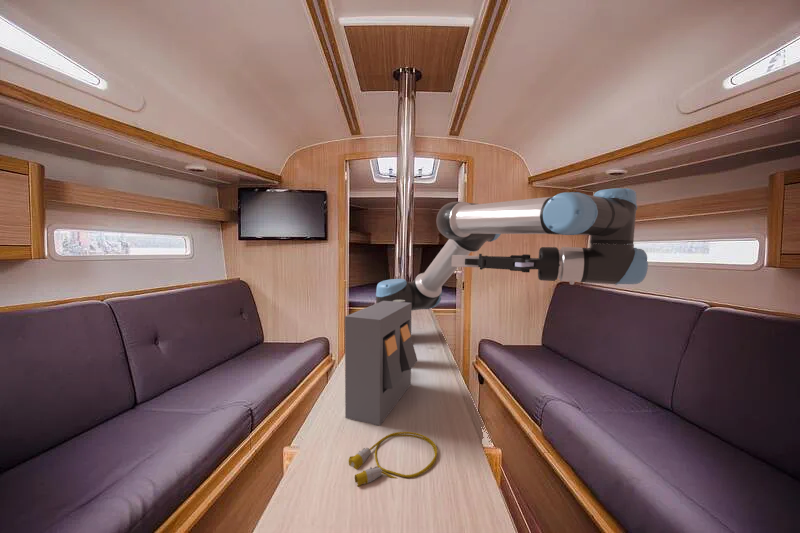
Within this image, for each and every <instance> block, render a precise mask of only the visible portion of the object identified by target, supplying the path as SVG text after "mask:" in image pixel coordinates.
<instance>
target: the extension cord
mask: <svg viewBox="0 0 800 533" xmlns="http://www.w3.org/2000/svg"><path fill="white" fill-rule="evenodd" d="M397 436H398V437H411V438H416V439H420V440H424V441H425V442H427V443H428V444H429V445H430V446H431V447H432V449H433V452H434V456H433V459H432V460H431V461H430V462H429V464H428V465H426V467H424V468H422V469H421V470H420V471H418V472H415V473H412V474H405V473H404V474H403V473H399V472H396V471H393V470H389V469H387V468H384V467H383V466H381V465H380V463H379V460H378V448H379V446H380V445H381V443H382V442H383V441H384V440H386V439H389V438H391V437H397ZM374 448H375V451H374V460H375V463H376V464H375V465H376V466H374V467H372V466H370V467H369V468H368V469H364V470H362V471H361V472H359V473H356V474H355V475H354V481H355V483H357V485H356V486H357V487H361V486H362V485H364V484H366V485H367V484H369V483H372V482H373V481H374V480H376V479H378V478H379V477H381V476H382V475H385V476H387V477H388V478H391V479H398V477H402V478H409V479H410V478H417V477H419V476H421V475H422V474H424V473H426V472H427V471H428V470H430V469H431V468H433V466H434V465H435V464H436V460H437V456H438V447H437V445H436V443H435V442H434V440H432V439H431V438H430V437H428V436H425V435H424V434H421V433H417V432H413V431H397V432H393V433H390V434H387V435H386V436H384V437H382V438H381V439H379V440H378V441H377V442H376V443H375V444H374V445H372V446H371V447H370V448H369V447H364V448H362V450H359V451H358V452H357V453H356V454H355V455H352V456H351V455H350V456H349V458H348V464H349V466H350V467H352V468H353V469H355V470H358V469H359V468H360V467H361V466H362V465H363V464H364V463H365V462H366V460H367V459H368V458H369V456H370V455H371V453H372V450H373V449H374ZM394 475H395V476H394ZM396 476H398V477H396Z"/></svg>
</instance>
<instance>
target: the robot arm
mask: <svg viewBox="0 0 800 533" xmlns="http://www.w3.org/2000/svg"><path fill="white" fill-rule="evenodd" d="M637 210H638V204H637V192H636V190H634V189H632V188H628V187H627V188H625V187H624V188H623V187H621V188H620V187H616V188H615V187H614V188H606V189H600V190H598V191H596V192H595V193H594V194H593V195H591V194H586V193H581V192H578V191H576V192H575V191H571V192H567V191H565V192H560V193H557V194H556V195H554V196H547V197H536V198H527V199H526V198H525V199H517V200H506V201H505V200H504V201H497V202H489V203H486V202H485V203H473V202H467V201H451V202H448V203H446V204H444V205H443V206H441V208H440V209H439V211H438V212H437V215H436V227H437V230H438V231H439V233H440V234H441V235H442V236H444V237H445V238H446V239H447V241H446V243H445V244H444V246H443V247H442V248H440V251H439V252H438V253H437V255H436V256H435V258H433V260H432V262H430V264H429V266H428V267H427V268H426V270H425V271H424V272H422V273H419V274H418V275H417V276H416V277H415V278H414V280H412V281H407V280H406V279H404V278H395V279H394V278H389V279H386V280H385V279H384V280H382V281H380V282H378V283H377V285H376V292H375V297H376V298H375V300H376V301H375V304H377V303H379V302H381V301H393V300H405V301H406V302H408V303H412V311H418V310H429V309H433V308H435V307H438V305H439V304H440V303H441V301H442V296H443V290H442V288H443V285H444V284H445V283H446V282H447V281H448V280H449V279H450V277H452V275H453V274H454V272H455V271H456V270H457V269H458V268H459V267H460V268H461V267H462V268H479V270H483V269H494V270H495V269H496V270H509V271H512V272H521V273H530V271H531V270H537V278H538V280H539V281H544V282H545V281H547V282H555V281H557V280H559V281H560V282H569V285H571V286H572V285H575V282H578V283H588V284H590V283H591V284H600V285H601V284H602V285H603V284H604V285H616V286H617V285H637V284H641V283H642V282H643V281H644V280H645V278H646V276H647V274H648V269H649V262H648V255H647V254H648V253H647V252H646V251H645V250H644V249H642V248H637V247H635V244H634V242H635V240H634V238H635V227H636V216H637ZM501 235H555V236H556V235H564V236H590V238H589V240H590V241H589V245H590V247H577V246H575V247H574V246H571V247H570V246H562V247H561V248H558V247H555V246H553V247H551V246H542V247H540V248H539V250H538V258H537V257H531V254H526V253H525V254H521V255H517V254H516V255H515V254H512V255H509V256H501V255H500V256H492V255H491V256H489V255H483V253H478V255H470V254H471V253H474V252H475V253H476V252H478V251H479V250H480V249H481V248H482V247H483V246H484V245H485V243H486V242H490V243H491V242H493V241H496V240H498V239H499V237H500V236H501Z"/></svg>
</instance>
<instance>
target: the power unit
mask: <svg viewBox="0 0 800 533" xmlns="http://www.w3.org/2000/svg"><path fill="white" fill-rule="evenodd" d="M412 311H413V310H412V303H408V302H395V301H381V302H379V303H377V304H376V303H373V304H372V305H369V306H367V307H365V308H362V309H359V310H357V311H355V312H353V313H349V314H347V315H345V316H344V342H345V343H344V353H345V354H344V362H345V363H344V365H345V367H344V371H345V372H344V376H345V377H344V378H345V379H344V382H345V383H344V386H345V388H344V389H345V394H344V396H345V397H344V399H345V401H344V402H345V404H344V405H345V406H344V407H345V411H344V412H345V417H344V418H345V419H350V420H354V421H358V422H362V423H366V424H371V425H374V426H381V425H382V423H383V422H384V420H386V418H387V416H389V414H390V413H391V412H392V410H393V409H394V408H395V406H396V405H397V404H398V402H399V401H400V400H401V398H402V397H403V395H405V393H406V391H407V390H408V389H409V388H410V386H411V385H412V381H411V380H412V368H411V369H410V370H406V371H402V367H401V372H402V378H401V379H400V381H399V382H398V383H397V384H396V385H395V386H394V388H393V389H384V387H383V337H384V336H386V335H387V334H393V333H394V335H395V339H396V344H397V350H398V356H399V361H400V325H402V324H405V323H407V325H408V328H409V332H410V335H411V336H412V313H413V312H412ZM400 366H401V364H400Z"/></svg>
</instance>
